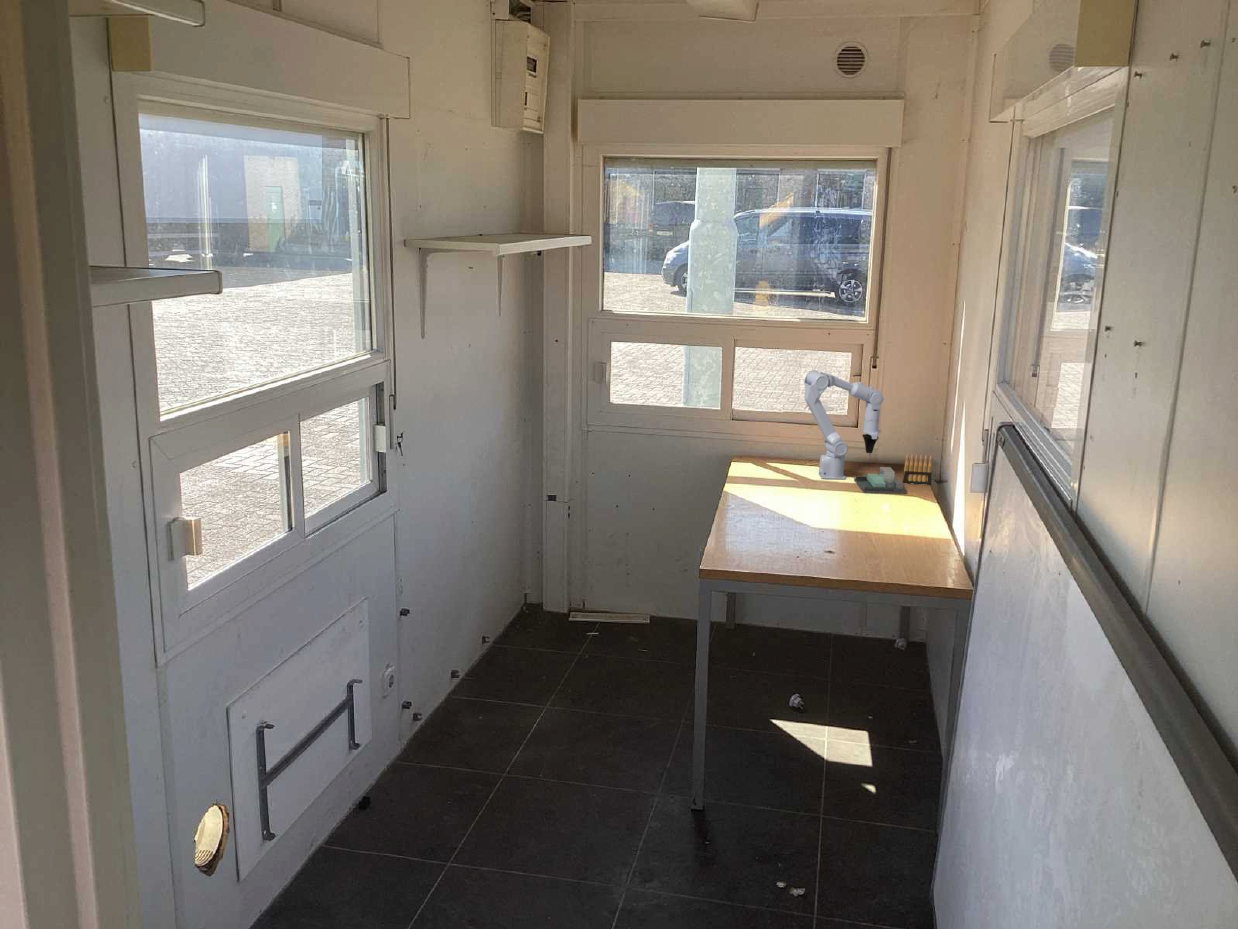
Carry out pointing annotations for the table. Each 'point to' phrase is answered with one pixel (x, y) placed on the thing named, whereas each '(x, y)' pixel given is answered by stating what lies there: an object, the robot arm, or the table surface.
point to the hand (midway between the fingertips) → (869, 452)
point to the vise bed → (868, 488)
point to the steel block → (887, 476)
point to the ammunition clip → (917, 470)
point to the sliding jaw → (875, 480)
